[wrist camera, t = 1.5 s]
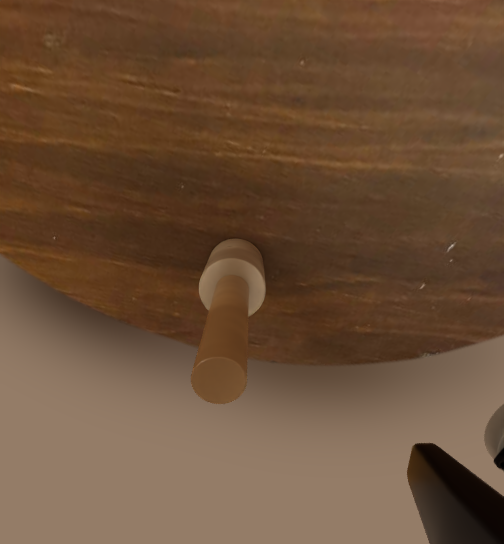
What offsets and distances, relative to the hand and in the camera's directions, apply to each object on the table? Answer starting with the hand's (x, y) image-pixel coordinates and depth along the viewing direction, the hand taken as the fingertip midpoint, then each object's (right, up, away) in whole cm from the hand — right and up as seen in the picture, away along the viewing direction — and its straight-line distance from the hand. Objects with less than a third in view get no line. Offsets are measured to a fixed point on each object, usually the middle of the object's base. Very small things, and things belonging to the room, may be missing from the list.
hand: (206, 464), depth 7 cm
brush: (0, +5, +13) cm, 14 cm away
